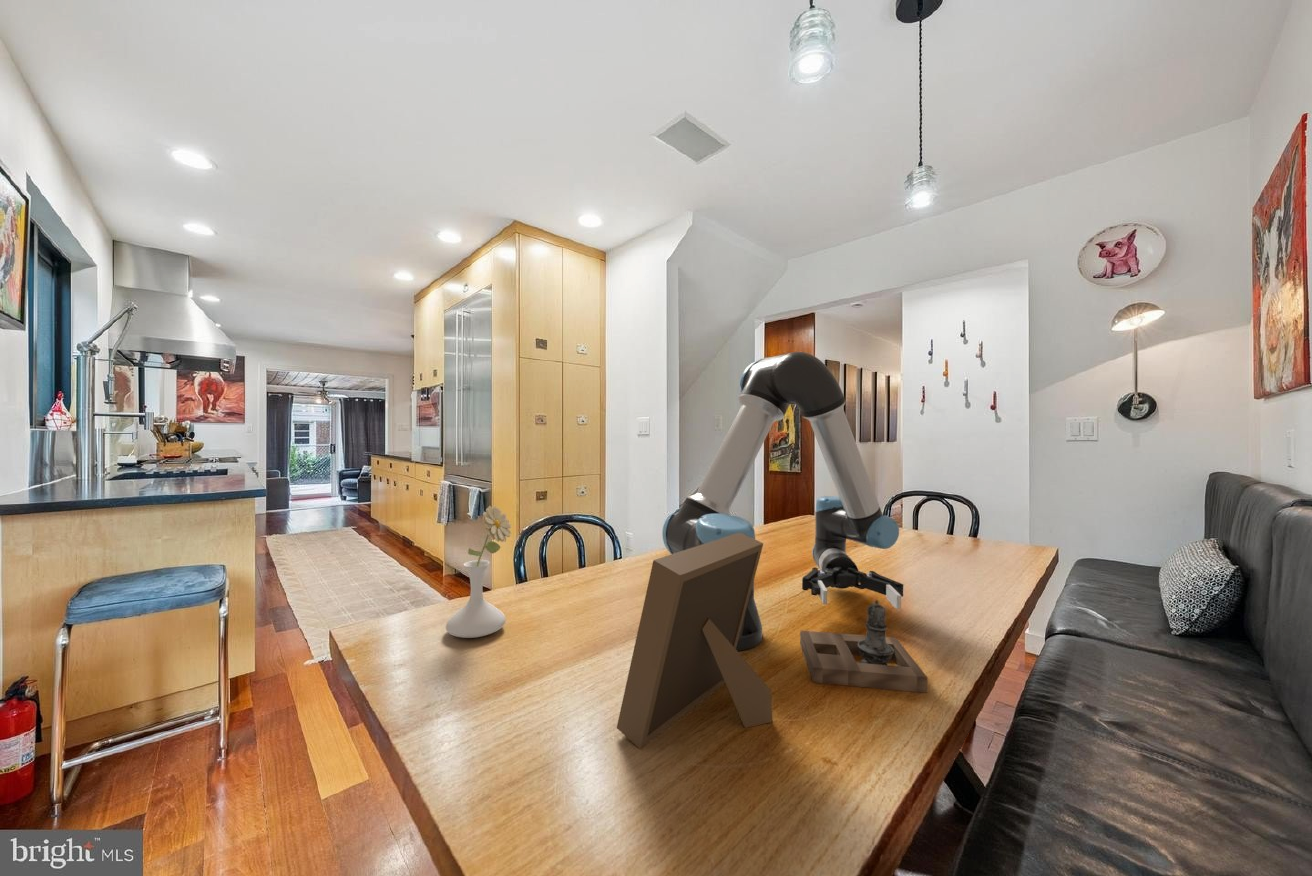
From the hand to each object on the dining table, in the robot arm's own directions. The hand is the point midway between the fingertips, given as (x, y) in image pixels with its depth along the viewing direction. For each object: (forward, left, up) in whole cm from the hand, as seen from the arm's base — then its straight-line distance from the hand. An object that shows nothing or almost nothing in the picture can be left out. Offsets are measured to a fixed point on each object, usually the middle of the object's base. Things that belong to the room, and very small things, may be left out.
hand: (861, 600), depth 93 cm
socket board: (-3, -9, -8) cm, 13 cm away
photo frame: (-28, -30, -9) cm, 42 cm away
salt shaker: (0, -9, -9) cm, 13 cm away
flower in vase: (-75, -8, -9) cm, 76 cm away
